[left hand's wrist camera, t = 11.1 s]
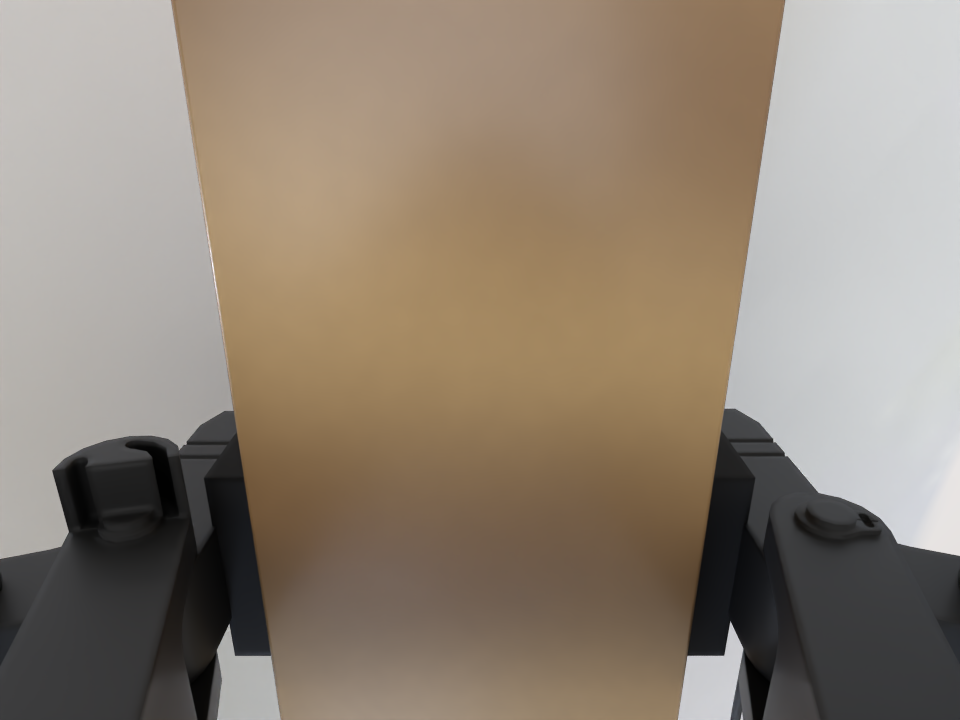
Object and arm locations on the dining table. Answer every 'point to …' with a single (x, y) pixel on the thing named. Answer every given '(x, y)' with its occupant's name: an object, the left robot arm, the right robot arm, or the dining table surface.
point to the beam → (478, 334)
